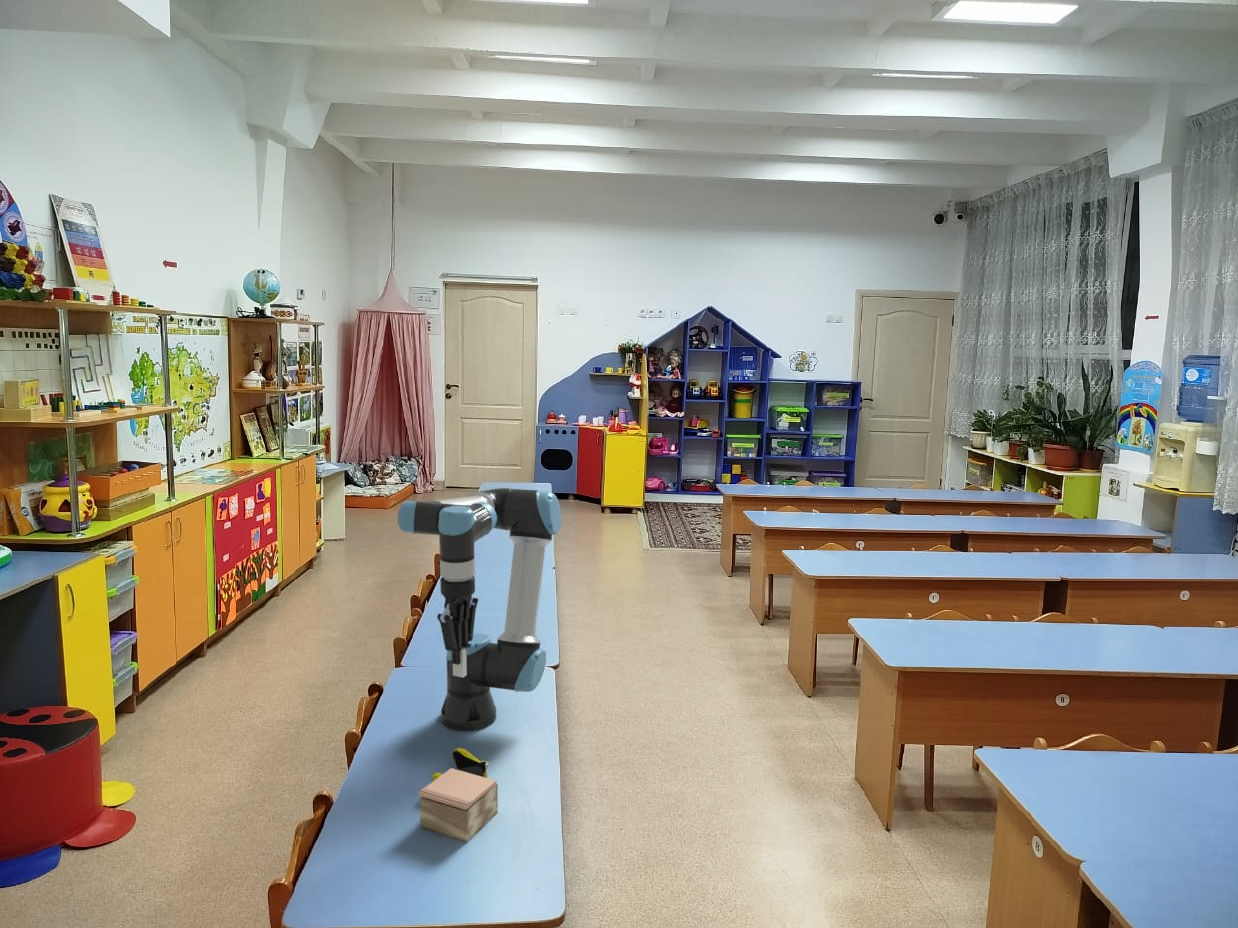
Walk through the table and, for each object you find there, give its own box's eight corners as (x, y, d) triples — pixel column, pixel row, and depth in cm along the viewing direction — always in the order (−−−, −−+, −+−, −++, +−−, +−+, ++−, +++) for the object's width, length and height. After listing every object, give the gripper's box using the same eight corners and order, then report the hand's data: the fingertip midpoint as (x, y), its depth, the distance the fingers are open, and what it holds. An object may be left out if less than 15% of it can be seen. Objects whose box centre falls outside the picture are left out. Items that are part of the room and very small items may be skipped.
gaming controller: (428, 798, 191) (469, 804, 189) (428, 776, 190) (469, 782, 188) (456, 765, 206) (493, 771, 203) (455, 744, 205) (493, 750, 202)
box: (452, 799, 191) (452, 771, 189) (497, 812, 186) (497, 783, 185) (420, 827, 180) (419, 797, 179) (467, 842, 175) (467, 811, 174)
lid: (451, 771, 189) (451, 767, 189) (496, 783, 184) (496, 779, 184) (418, 795, 178) (418, 791, 178) (465, 809, 173) (465, 805, 173)
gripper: (459, 565, 191) (461, 660, 196) (425, 582, 179) (428, 683, 184) (487, 569, 188) (489, 666, 193) (455, 588, 177) (457, 690, 181)
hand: (459, 674), depth 189 cm, fingers closed
